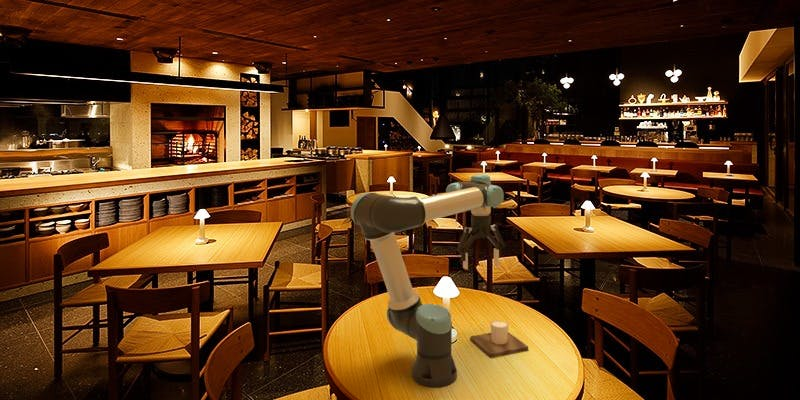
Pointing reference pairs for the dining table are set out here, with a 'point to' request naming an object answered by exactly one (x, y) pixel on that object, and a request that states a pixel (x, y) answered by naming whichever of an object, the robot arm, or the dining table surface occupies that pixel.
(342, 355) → the dining table surface
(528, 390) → the dining table surface
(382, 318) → the dining table surface
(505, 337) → the beige cylinder
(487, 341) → the serving board
